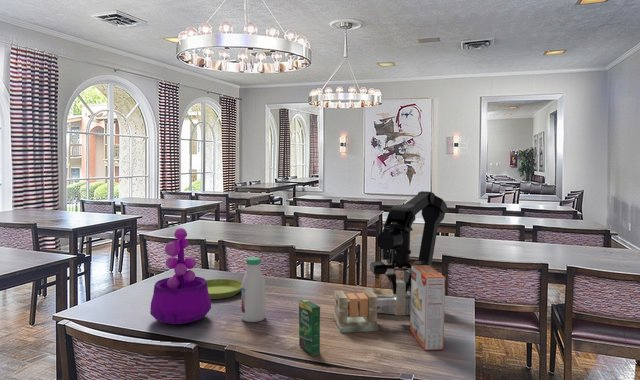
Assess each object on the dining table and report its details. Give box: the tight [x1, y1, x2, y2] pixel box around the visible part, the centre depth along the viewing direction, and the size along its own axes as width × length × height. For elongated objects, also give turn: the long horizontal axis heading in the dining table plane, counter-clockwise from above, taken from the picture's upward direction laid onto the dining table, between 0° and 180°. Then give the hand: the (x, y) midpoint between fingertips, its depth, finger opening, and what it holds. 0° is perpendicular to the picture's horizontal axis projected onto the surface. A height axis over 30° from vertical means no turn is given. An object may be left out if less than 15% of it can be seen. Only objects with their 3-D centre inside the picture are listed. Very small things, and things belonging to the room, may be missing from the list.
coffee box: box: [366, 287, 411, 316], centre depth 158 cm, size 9×6×16 cm
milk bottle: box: [241, 256, 266, 323], centre depth 147 cm, size 8×8×20 cm
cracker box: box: [409, 265, 446, 351], centre depth 131 cm, size 14×6×21 cm, turn 5°
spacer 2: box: [355, 292, 368, 317], centre depth 144 cm, size 2×6×6 cm, turn 9°
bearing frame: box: [332, 289, 380, 334], centre depth 143 cm, size 12×12×10 cm
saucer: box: [205, 278, 242, 300], centre depth 175 cm, size 21×21×3 cm
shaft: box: [347, 279, 406, 316], centre depth 144 cm, size 20×3×10 cm, turn 99°
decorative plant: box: [149, 227, 212, 325], centre depth 144 cm, size 19×18×30 cm
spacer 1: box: [345, 292, 358, 317], centre depth 143 cm, size 2×6×6 cm, turn 9°
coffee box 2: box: [298, 299, 321, 357], centre depth 124 cm, size 8×3×13 cm, turn 28°
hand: (399, 293), depth 145 cm, fingers closed on shaft, 3 cm apart
